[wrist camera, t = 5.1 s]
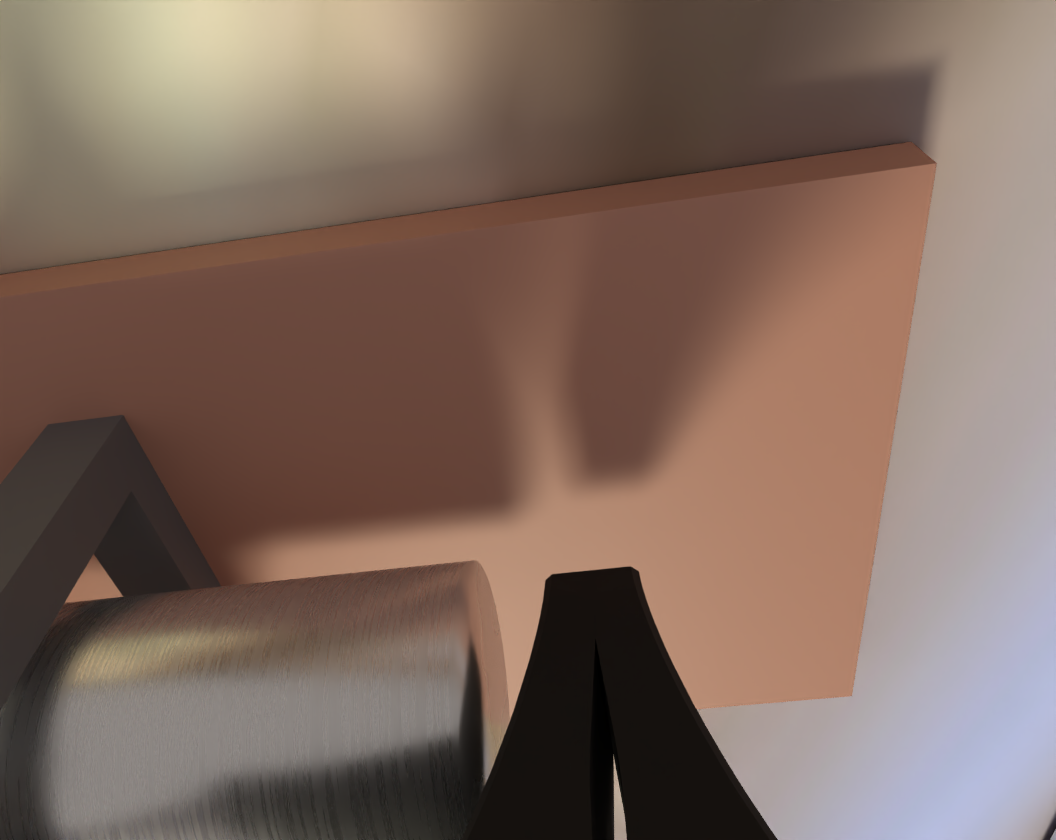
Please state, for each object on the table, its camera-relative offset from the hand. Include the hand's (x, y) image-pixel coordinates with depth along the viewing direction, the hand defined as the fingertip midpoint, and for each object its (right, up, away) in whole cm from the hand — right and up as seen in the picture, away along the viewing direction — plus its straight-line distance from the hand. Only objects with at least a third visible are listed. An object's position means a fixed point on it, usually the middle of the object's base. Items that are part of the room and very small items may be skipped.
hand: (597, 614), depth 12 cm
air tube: (-9, -1, +1) cm, 9 cm away
